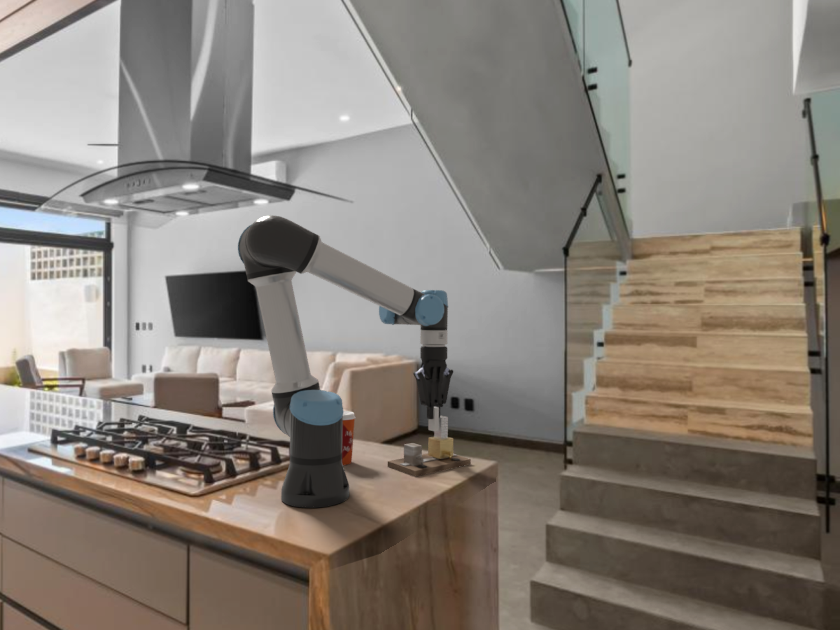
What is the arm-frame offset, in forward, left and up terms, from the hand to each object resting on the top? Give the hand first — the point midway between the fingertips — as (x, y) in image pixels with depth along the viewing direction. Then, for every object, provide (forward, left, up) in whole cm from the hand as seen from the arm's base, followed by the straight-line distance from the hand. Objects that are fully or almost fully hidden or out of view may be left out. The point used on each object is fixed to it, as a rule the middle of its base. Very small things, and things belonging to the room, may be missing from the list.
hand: (433, 430), depth 153 cm
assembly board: (-1, 0, -10) cm, 10 cm away
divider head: (+3, -1, -8) cm, 8 cm away
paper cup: (-19, +17, -10) cm, 28 cm away
